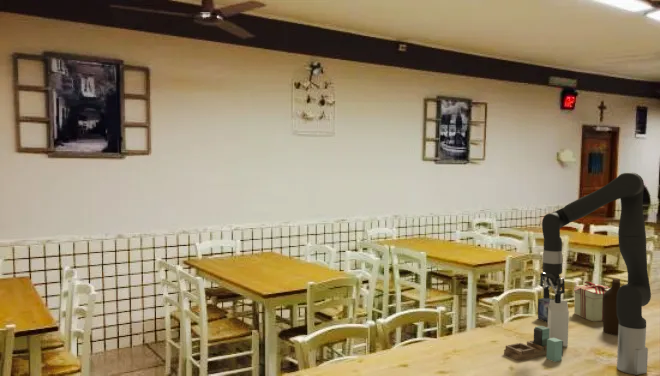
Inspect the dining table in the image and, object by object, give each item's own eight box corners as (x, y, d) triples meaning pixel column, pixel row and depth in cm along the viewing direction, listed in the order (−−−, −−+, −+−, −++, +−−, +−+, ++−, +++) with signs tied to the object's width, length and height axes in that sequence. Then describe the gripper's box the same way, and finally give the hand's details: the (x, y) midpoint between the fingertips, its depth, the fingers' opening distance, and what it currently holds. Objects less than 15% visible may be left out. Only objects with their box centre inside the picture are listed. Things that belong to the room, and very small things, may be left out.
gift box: (567, 314, 290) (568, 281, 289) (595, 311, 295) (597, 279, 294) (591, 323, 274) (592, 288, 273) (621, 320, 279) (622, 286, 278)
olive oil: (621, 337, 252) (623, 282, 251) (597, 331, 261) (599, 278, 259) (631, 332, 259) (633, 279, 258) (608, 327, 267) (609, 275, 266)
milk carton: (567, 347, 238) (569, 303, 237) (550, 345, 240) (551, 302, 239) (564, 341, 245) (565, 299, 244) (547, 340, 247) (548, 298, 246)
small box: (536, 319, 280) (537, 298, 280) (546, 317, 283) (546, 297, 283) (553, 324, 271) (553, 303, 270) (563, 323, 274) (563, 302, 273)
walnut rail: (557, 352, 231) (558, 328, 231) (518, 360, 221) (519, 335, 221) (542, 346, 238) (543, 323, 238) (504, 354, 228) (504, 330, 228)
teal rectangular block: (563, 359, 223) (563, 340, 222) (554, 361, 220) (555, 341, 220) (554, 356, 226) (555, 337, 226) (546, 358, 224) (547, 338, 224)
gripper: (571, 264, 222) (570, 304, 223) (551, 258, 236) (550, 296, 237) (553, 264, 221) (552, 305, 222) (534, 258, 235) (534, 297, 236)
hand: (551, 300), depth 229 cm, fingers open, 8 cm apart
